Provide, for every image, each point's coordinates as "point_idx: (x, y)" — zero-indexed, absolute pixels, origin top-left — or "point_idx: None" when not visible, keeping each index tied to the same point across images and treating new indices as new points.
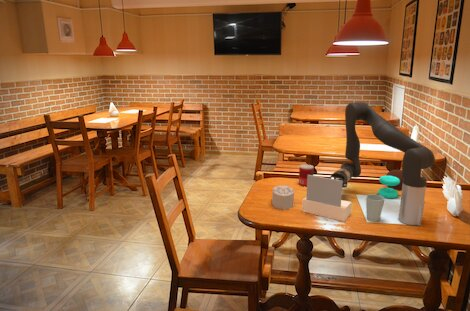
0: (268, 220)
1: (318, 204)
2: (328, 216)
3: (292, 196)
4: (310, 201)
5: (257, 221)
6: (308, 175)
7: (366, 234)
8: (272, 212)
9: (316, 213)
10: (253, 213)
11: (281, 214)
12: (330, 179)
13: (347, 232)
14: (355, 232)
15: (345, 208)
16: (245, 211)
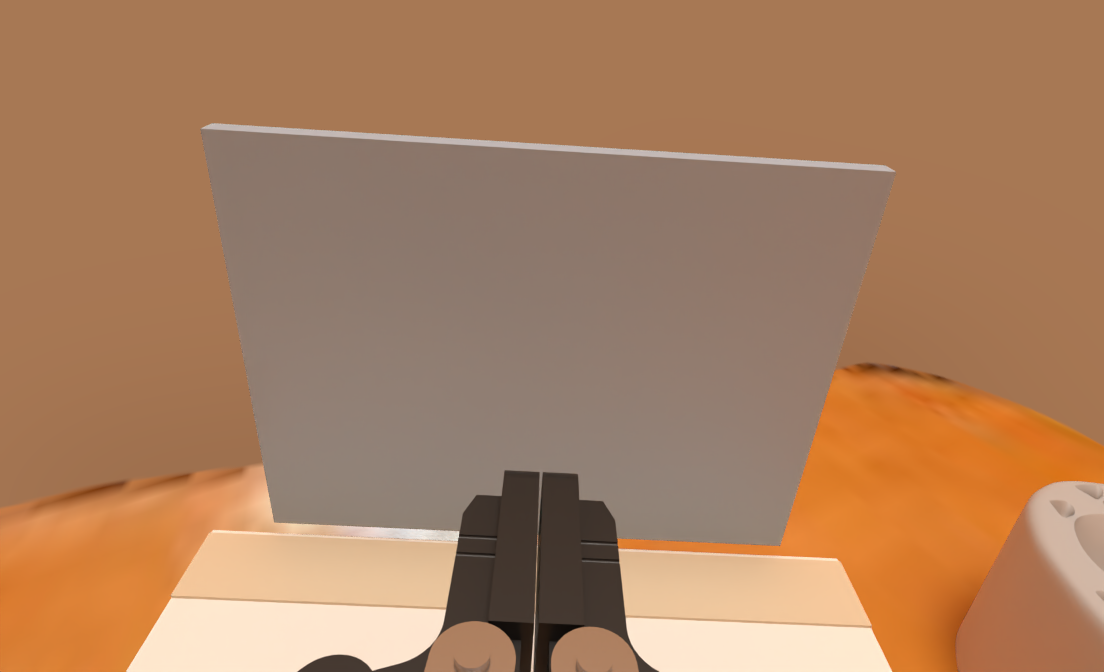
0: (833, 409)
1: None
2: None
3: (1056, 631)
4: (716, 556)
5: (865, 380)
6: (864, 171)
7: (47, 500)
8: (955, 516)
9: None
10: (1014, 446)
11: (866, 516)
12: (437, 144)
13: (230, 470)
14: (152, 494)
15: (203, 547)
16: (1086, 449)
